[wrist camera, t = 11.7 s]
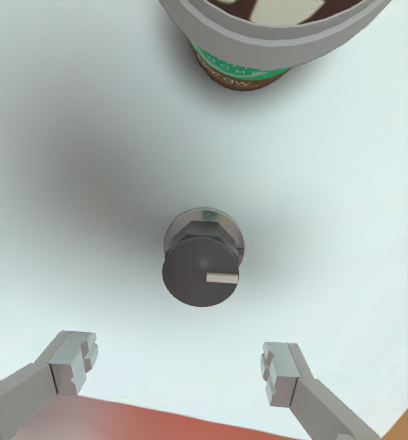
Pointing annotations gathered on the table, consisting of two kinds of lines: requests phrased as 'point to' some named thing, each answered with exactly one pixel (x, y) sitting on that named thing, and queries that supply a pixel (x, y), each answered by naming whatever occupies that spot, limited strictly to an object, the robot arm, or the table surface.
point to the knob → (201, 264)
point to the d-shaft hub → (207, 215)
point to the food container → (266, 34)
